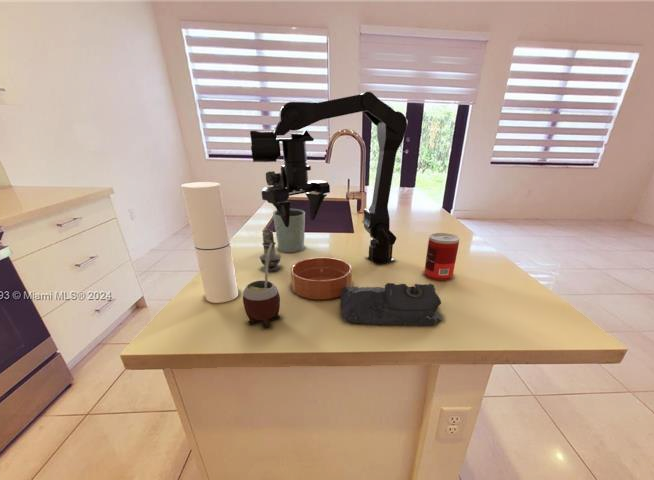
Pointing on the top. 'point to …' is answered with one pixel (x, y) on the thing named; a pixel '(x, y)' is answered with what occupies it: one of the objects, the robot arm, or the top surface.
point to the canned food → (441, 256)
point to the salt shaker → (273, 256)
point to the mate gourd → (262, 299)
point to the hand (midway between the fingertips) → (300, 223)
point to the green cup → (290, 231)
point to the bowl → (320, 277)
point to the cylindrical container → (211, 240)
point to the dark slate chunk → (391, 305)
